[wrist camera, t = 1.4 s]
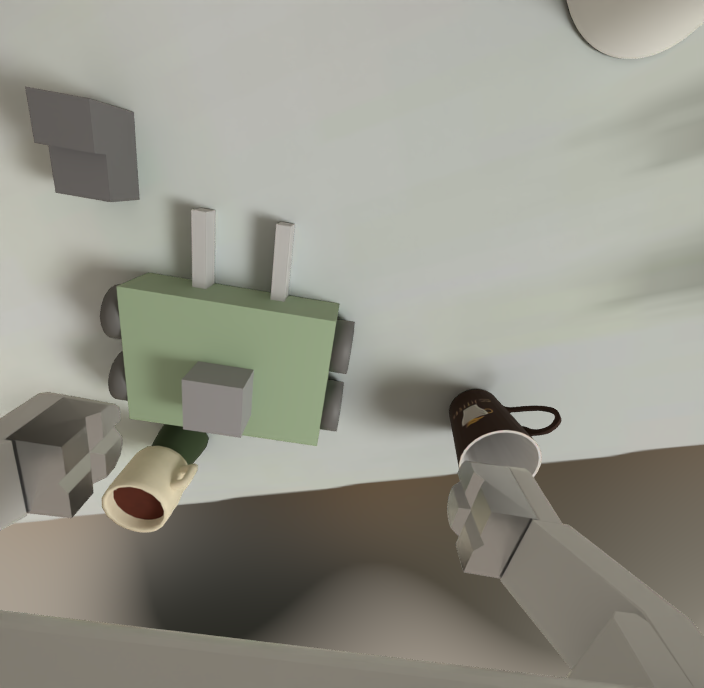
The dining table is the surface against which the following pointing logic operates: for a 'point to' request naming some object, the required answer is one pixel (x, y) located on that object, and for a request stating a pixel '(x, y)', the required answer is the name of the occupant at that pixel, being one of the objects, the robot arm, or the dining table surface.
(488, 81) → the dining table surface
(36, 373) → the dining table surface
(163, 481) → the character mug
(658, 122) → the dining table surface
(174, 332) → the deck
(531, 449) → the coffee mug
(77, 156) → the grey stepped block
